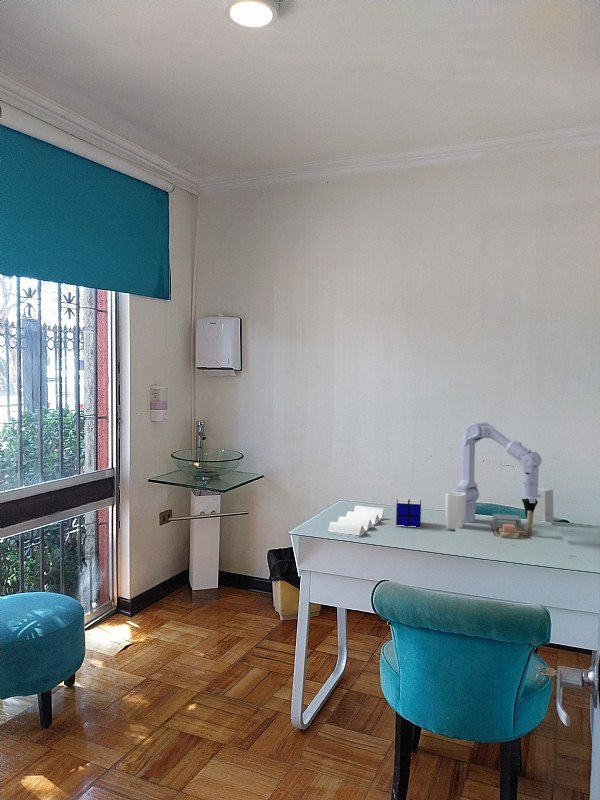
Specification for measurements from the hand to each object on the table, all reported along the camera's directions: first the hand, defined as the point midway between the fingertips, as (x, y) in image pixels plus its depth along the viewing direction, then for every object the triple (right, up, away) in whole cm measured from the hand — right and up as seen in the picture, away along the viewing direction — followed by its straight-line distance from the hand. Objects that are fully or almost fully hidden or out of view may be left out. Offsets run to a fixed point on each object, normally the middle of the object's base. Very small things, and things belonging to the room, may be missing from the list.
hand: (529, 517), depth 246 cm
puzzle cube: (-44, -7, +18) cm, 48 cm away
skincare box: (+15, -7, +26) cm, 30 cm away
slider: (-6, -6, -4) cm, 10 cm away
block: (-9, -6, -3) cm, 11 cm away
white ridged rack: (-67, -7, +14) cm, 69 cm away
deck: (-6, -8, +5) cm, 11 cm away
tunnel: (-7, -6, +6) cm, 11 cm away
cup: (-26, -7, +11) cm, 30 cm away
